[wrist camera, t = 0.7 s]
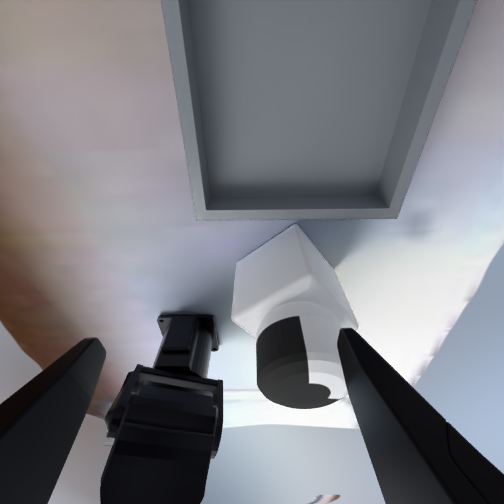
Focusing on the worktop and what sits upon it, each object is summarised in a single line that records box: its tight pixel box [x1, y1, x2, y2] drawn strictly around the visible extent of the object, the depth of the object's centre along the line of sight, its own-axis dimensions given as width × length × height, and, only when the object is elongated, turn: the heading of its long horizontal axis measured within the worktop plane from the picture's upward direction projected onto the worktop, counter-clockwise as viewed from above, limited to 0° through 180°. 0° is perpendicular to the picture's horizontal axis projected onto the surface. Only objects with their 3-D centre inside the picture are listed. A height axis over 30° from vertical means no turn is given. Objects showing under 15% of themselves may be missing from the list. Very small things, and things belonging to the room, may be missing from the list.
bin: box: [161, 0, 477, 221], centre depth 15 cm, size 15×15×3 cm
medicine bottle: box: [231, 224, 358, 409], centre depth 19 cm, size 7×7×12 cm
